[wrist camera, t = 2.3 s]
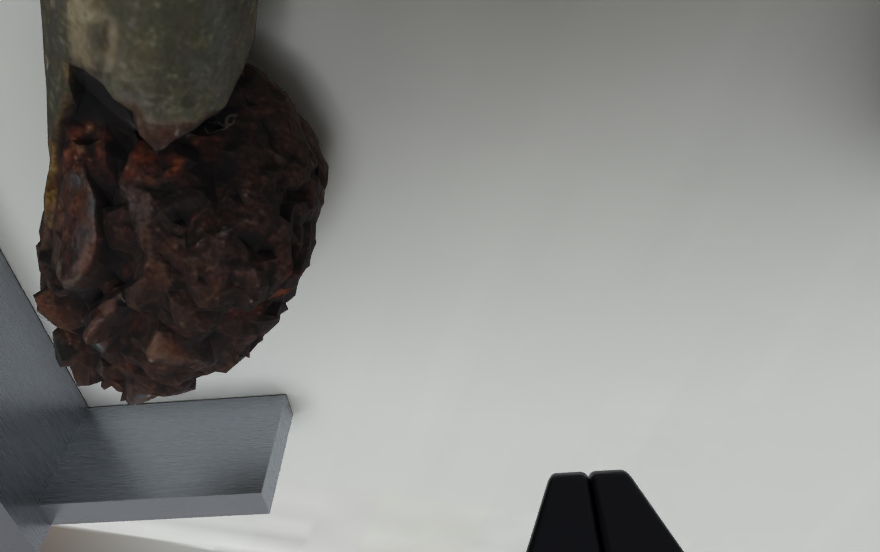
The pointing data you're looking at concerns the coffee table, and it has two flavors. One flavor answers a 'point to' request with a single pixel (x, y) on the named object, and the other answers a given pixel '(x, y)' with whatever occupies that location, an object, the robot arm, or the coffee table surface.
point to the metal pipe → (168, 192)
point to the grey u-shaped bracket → (119, 445)
